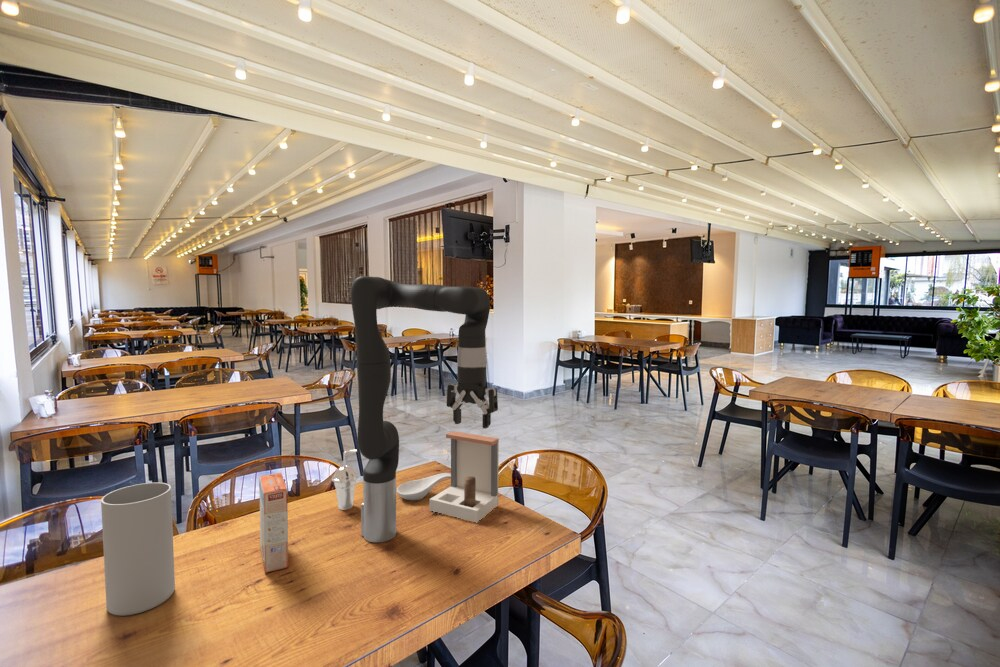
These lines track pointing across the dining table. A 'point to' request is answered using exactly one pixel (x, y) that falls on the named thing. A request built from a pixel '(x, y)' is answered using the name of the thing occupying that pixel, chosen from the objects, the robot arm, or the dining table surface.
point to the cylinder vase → (138, 547)
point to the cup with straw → (345, 484)
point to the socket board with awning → (470, 460)
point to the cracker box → (273, 522)
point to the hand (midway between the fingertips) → (471, 425)
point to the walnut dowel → (469, 491)
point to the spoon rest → (420, 486)
